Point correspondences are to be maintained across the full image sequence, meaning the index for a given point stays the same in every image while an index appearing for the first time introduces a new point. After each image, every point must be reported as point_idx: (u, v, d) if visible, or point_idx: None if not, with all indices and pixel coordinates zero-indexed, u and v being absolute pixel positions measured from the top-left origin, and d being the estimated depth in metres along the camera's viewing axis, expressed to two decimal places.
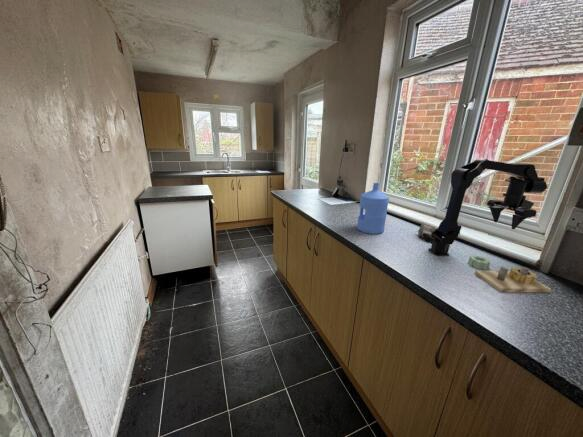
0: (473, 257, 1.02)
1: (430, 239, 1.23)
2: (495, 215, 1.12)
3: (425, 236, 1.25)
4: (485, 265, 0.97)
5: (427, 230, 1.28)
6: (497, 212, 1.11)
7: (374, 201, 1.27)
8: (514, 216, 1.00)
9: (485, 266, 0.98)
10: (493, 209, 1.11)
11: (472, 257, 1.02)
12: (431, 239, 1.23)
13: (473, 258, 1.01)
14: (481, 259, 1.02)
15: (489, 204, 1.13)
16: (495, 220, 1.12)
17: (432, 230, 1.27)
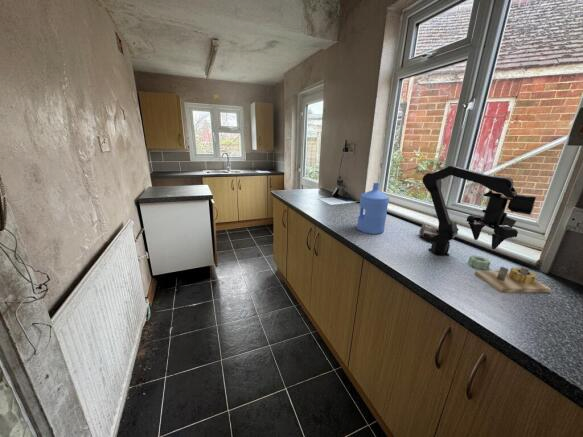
0: (473, 257, 1.02)
1: (430, 239, 1.23)
2: (475, 232, 1.02)
3: (426, 236, 1.25)
4: (485, 265, 0.97)
5: (428, 230, 1.27)
6: (477, 229, 1.01)
7: (374, 201, 1.27)
8: (494, 236, 0.91)
9: (485, 266, 0.98)
10: (473, 226, 1.01)
11: (472, 257, 1.02)
12: (431, 239, 1.23)
13: (473, 258, 1.01)
14: (481, 259, 1.02)
15: (469, 220, 1.03)
16: (475, 238, 1.02)
17: (433, 230, 1.27)
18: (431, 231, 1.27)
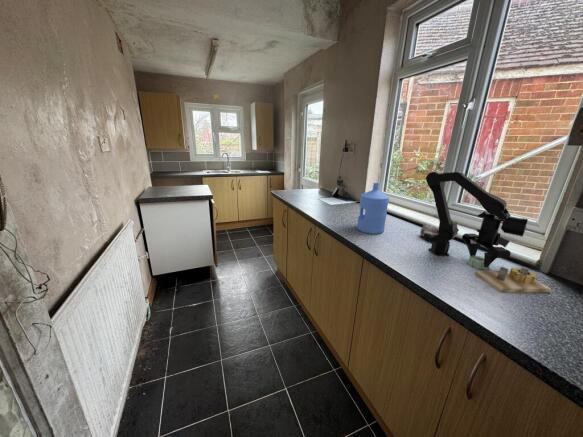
0: (473, 257, 1.02)
1: (431, 239, 1.23)
2: (472, 251, 1.04)
3: (426, 236, 1.25)
4: None
5: (429, 230, 1.27)
6: (474, 248, 1.03)
7: (374, 201, 1.27)
8: (486, 255, 0.94)
9: None
10: (469, 245, 1.03)
11: (472, 257, 1.02)
12: (432, 239, 1.23)
13: (473, 258, 1.01)
14: (481, 259, 1.02)
15: (464, 238, 1.05)
16: None
17: (434, 230, 1.27)
18: (432, 231, 1.27)
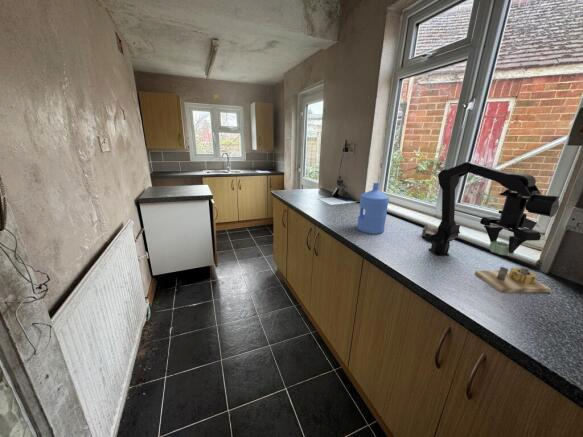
0: (494, 243, 0.90)
1: None
2: (492, 236, 0.92)
3: (427, 236, 1.25)
4: None
5: (430, 230, 1.27)
6: (494, 233, 0.92)
7: (374, 201, 1.27)
8: (511, 238, 0.83)
9: None
10: (490, 229, 0.92)
11: (493, 243, 0.90)
12: None
13: (495, 243, 0.89)
14: (504, 245, 0.90)
15: (483, 222, 0.94)
16: None
17: (435, 231, 1.26)
18: (433, 231, 1.26)
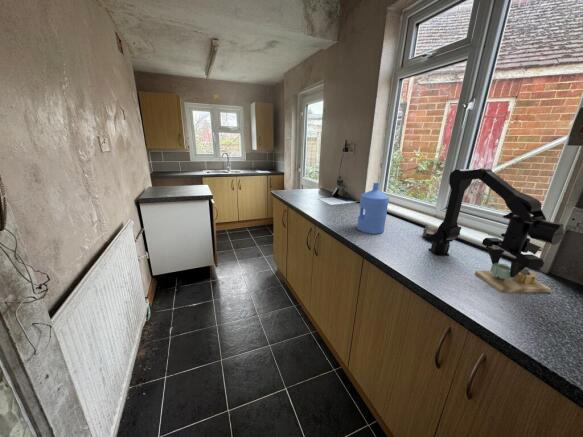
0: (496, 265, 0.88)
1: None
2: (494, 258, 0.90)
3: (428, 236, 1.25)
4: None
5: (431, 230, 1.27)
6: (496, 255, 0.90)
7: (374, 201, 1.27)
8: (513, 263, 0.81)
9: None
10: (491, 251, 0.90)
11: (495, 265, 0.88)
12: None
13: (497, 266, 0.88)
14: (506, 267, 0.88)
15: (485, 243, 0.92)
16: None
17: (436, 231, 1.26)
18: (434, 232, 1.26)
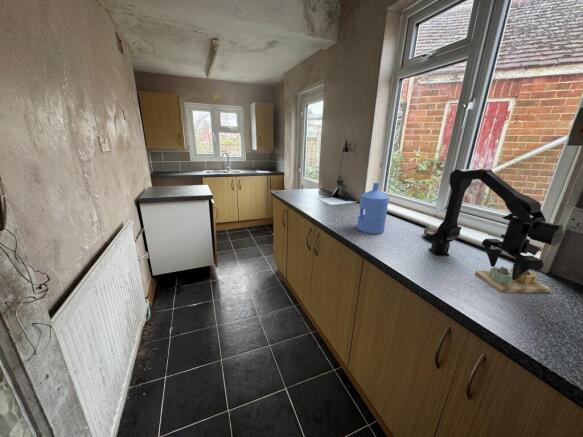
0: (494, 270, 0.89)
1: None
2: (492, 258, 0.91)
3: (428, 236, 1.25)
4: (510, 279, 0.85)
5: (431, 231, 1.27)
6: (494, 255, 0.91)
7: (374, 201, 1.27)
8: (515, 266, 0.80)
9: (510, 281, 0.85)
10: (489, 251, 0.91)
11: (494, 270, 0.89)
12: None
13: (495, 271, 0.88)
14: None
15: (485, 244, 0.92)
16: (492, 264, 0.92)
17: None
18: (434, 232, 1.26)
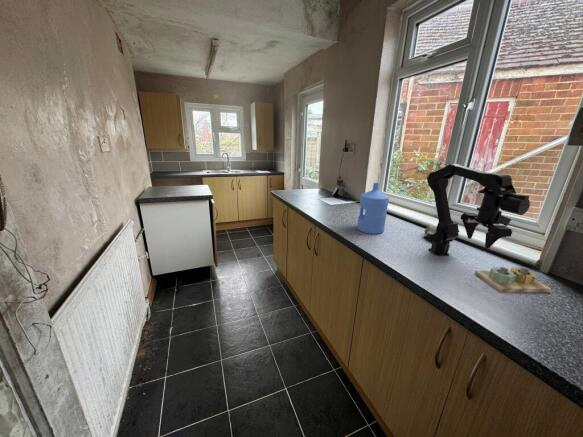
0: (494, 270, 0.89)
1: None
2: (469, 231, 0.98)
3: (429, 236, 1.25)
4: (510, 279, 0.85)
5: (432, 231, 1.26)
6: (471, 227, 0.98)
7: (374, 201, 1.27)
8: (487, 235, 0.87)
9: (510, 281, 0.85)
10: (467, 224, 0.98)
11: (494, 270, 0.89)
12: None
13: (495, 271, 0.88)
14: None
15: (463, 218, 0.99)
16: (469, 236, 0.99)
17: None
18: (435, 232, 1.26)
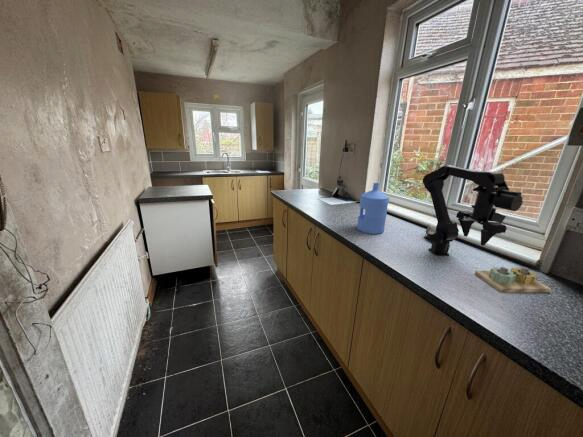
0: (494, 270, 0.89)
1: None
2: (465, 229, 1.00)
3: (429, 237, 1.25)
4: (510, 279, 0.85)
5: (433, 231, 1.26)
6: (467, 225, 1.00)
7: (374, 201, 1.27)
8: (482, 231, 0.89)
9: (510, 281, 0.85)
10: (462, 222, 0.99)
11: (494, 270, 0.89)
12: None
13: (495, 271, 0.88)
14: None
15: (458, 216, 1.01)
16: (465, 234, 1.00)
17: None
18: None
